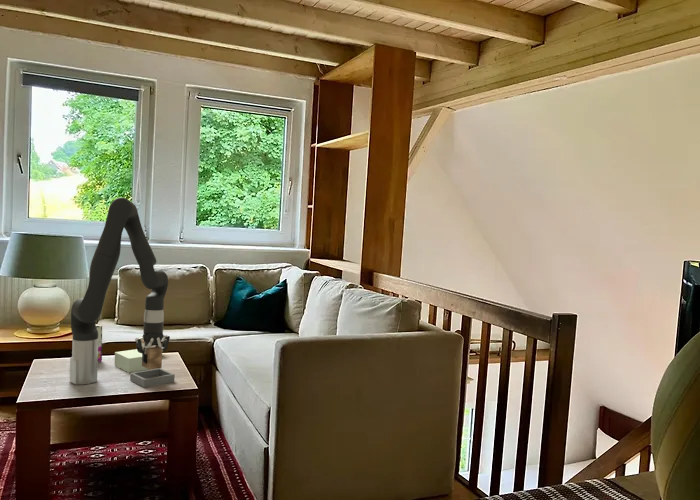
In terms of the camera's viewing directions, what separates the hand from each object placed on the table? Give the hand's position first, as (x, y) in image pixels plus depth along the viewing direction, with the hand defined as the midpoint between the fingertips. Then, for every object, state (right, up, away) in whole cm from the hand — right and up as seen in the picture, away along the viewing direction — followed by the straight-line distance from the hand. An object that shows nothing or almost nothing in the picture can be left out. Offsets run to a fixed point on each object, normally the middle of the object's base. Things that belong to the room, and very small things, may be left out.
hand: (151, 362), depth 229 cm
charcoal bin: (0, -8, +1) cm, 8 cm away
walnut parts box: (0, -2, 0) cm, 2 cm away
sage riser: (-14, -6, +21) cm, 26 cm away
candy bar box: (-37, -5, +25) cm, 45 cm away
